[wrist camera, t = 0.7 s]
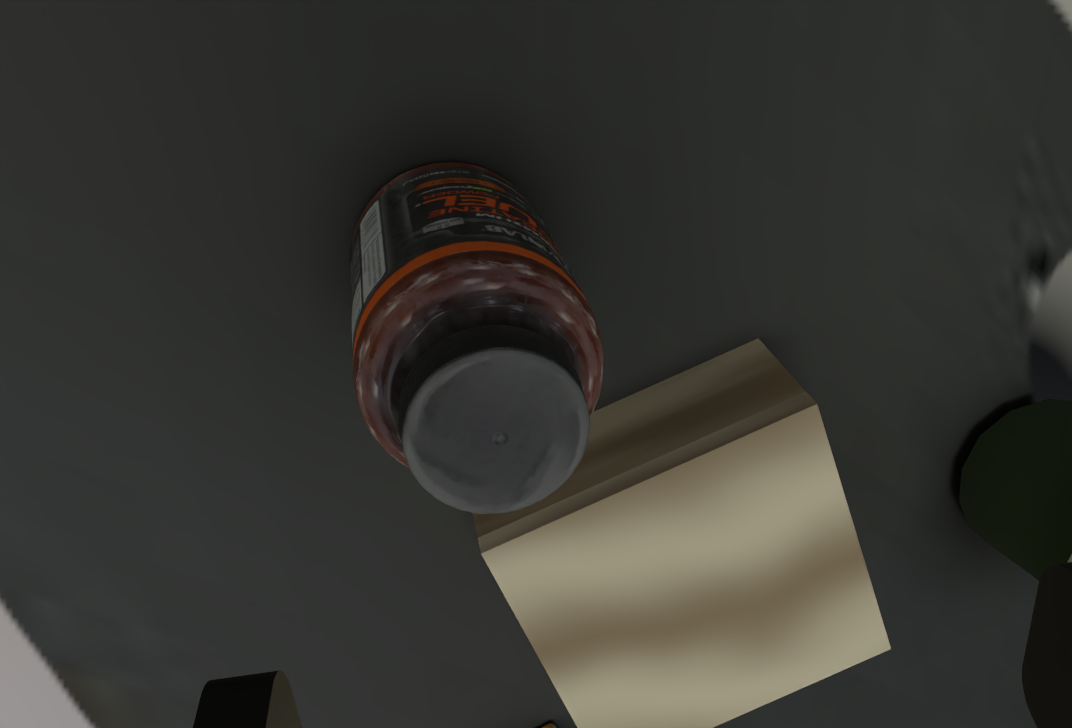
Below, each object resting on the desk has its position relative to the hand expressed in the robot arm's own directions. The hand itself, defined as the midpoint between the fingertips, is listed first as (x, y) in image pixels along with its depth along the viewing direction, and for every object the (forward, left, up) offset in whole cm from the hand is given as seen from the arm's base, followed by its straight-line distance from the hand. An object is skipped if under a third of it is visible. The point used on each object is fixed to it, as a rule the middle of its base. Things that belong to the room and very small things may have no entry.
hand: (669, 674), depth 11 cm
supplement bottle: (+3, -1, -22) cm, 22 cm away
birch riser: (+16, +1, -22) cm, 27 cm away
